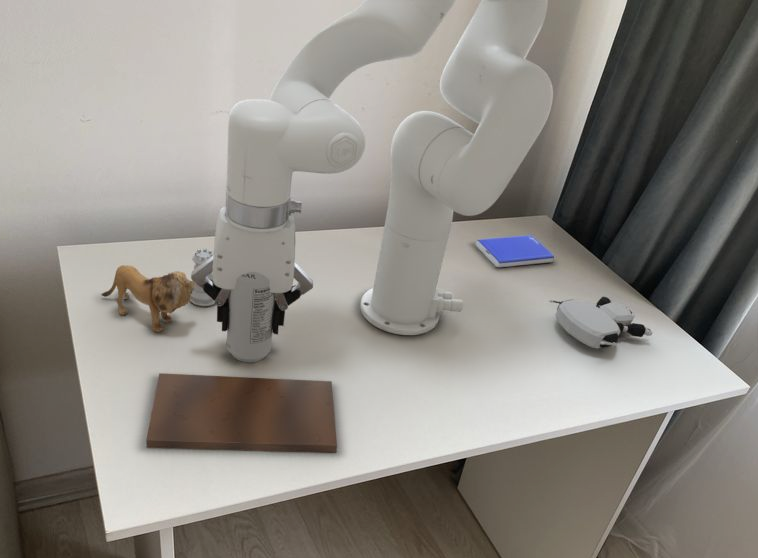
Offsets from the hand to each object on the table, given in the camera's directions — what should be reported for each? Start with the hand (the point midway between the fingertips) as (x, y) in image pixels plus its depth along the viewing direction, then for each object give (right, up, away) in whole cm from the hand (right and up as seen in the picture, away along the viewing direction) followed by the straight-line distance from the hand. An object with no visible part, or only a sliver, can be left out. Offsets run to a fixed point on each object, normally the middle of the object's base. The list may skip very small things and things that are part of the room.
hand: (250, 325), depth 99 cm
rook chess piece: (-9, +4, +11) cm, 15 cm away
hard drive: (+42, +15, +39) cm, 59 cm away
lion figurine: (-15, +2, +5) cm, 16 cm away
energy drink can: (-1, -4, +3) cm, 5 cm away
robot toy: (+53, -1, +22) cm, 57 cm away
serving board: (+1, -11, -8) cm, 14 cm away
